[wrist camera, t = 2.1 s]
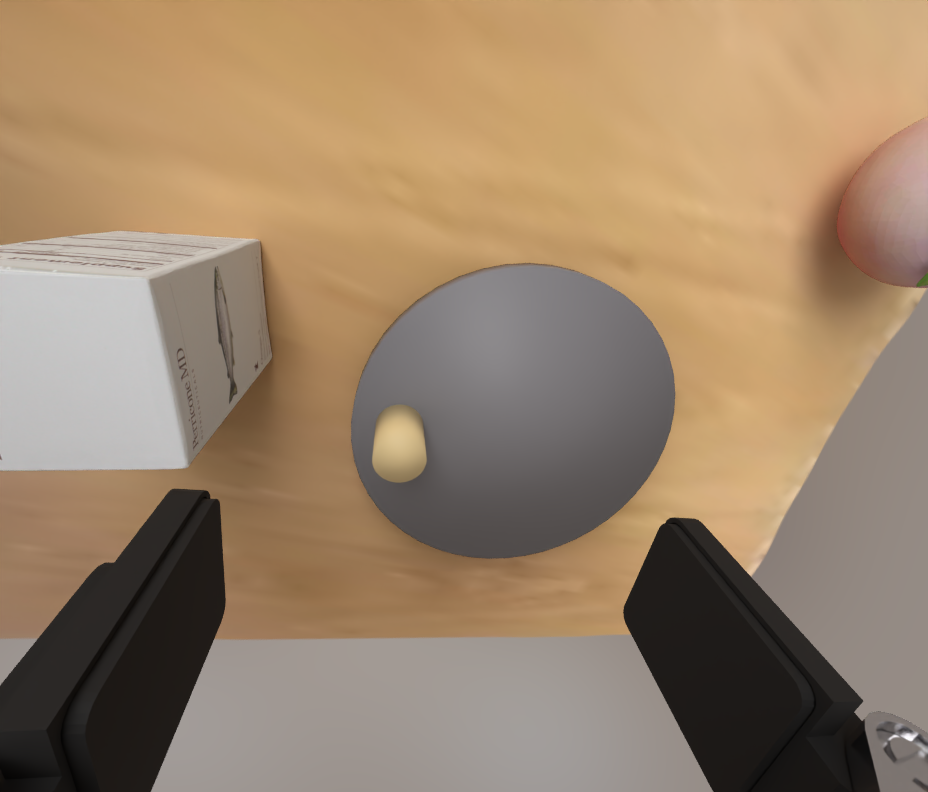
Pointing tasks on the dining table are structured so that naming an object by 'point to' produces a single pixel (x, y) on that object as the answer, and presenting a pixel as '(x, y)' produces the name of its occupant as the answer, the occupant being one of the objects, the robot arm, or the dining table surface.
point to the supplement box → (125, 347)
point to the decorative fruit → (890, 211)
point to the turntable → (512, 411)
